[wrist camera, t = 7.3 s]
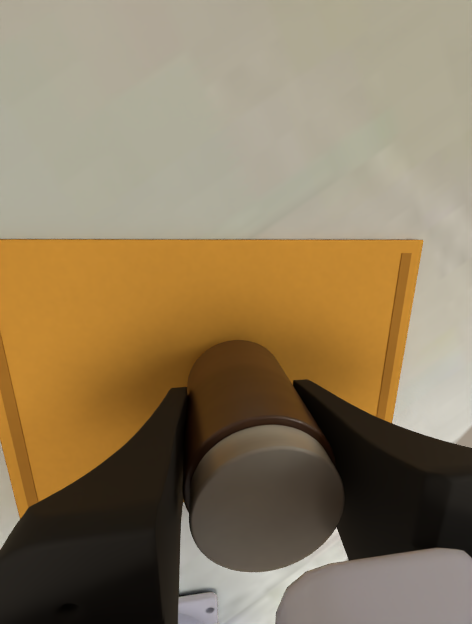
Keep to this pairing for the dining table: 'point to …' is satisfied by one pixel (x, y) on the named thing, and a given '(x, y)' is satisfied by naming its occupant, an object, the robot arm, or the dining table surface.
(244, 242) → the orange cutting board
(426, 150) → the dining table surface
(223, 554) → the pepper shaker
